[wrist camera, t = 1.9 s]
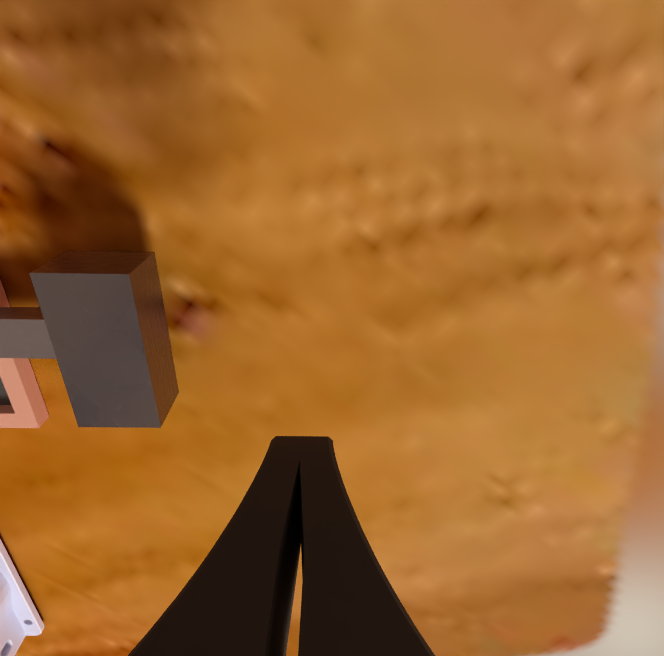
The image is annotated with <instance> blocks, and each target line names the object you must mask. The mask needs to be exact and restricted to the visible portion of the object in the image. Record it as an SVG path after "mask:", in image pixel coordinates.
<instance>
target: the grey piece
mask: <svg viewBox="0 0 664 656" xmlns="http://www.w3.org/2000/svg"><path fill="white" fill-rule="evenodd" d="M29 274H30V277H31V280H32V284H33V287H34V290H35V293H36V296H37V299H38V302H39V305H40V307H0V358H51V359H57V361H58V364H59V367H60V371H61V374H62V377H63V380H64V383H65V386H66V389H67V392H68V395H69V399H70V402H71V405H72V408H73V411H74V414H75V417H76V420H77V423H78V427H153V428H161V426H162V424H163V422H164V420H165V418H166V416H167V414H168V412H169V410H170V408H171V407H172V405H173V403H174V401H175V399H176V397H177V395H178V393H179V390H178V385H177V379H176V373H175V368H174V362H173V356H172V351H171V345H170V339H169V334H168V328H167V322H166V316H165V311H164V305H163V299H162V294H161V288H160V282H159V277H158V271H157V265H156V260H155V254H154V252H111V251H66V252H65V253H63V254H61V255H59V256H58V257H56V258H54V259H52V260H51V261H49V262H47V263H45V264H44V265H42V266H40V267H38V268H37V269H35V270H33V271H31V272H29Z"/></svg>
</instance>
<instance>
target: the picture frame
mask: <svg viewBox="0 0 664 656" xmlns="http://www.w3.org/2000/svg"><path fill="white" fill-rule="evenodd" d="M0 307H10V305H9V302H8V300H7V297H6V294H5V291H4V288H3V286H2V283H1V280H0ZM48 417H49V414H48V412H47V409H46V406H45V403H44V400H43V398H42V395H41V392H40V389H39V386H38V384H37V381H36V378H35V375H34V372H33V370H32V367H31V364H30V361H29V358H0V428H40V426H41V425H42V424H43V423H44V422H45V421H46V420H47V419H48Z"/></svg>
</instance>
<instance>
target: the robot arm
mask: <svg viewBox="0 0 664 656" xmlns="http://www.w3.org/2000/svg"><path fill="white" fill-rule="evenodd" d="M300 547H301V551H302V576H303V584H302V602H301V618H300V635H299V651H298V656H435V655H434V653H433V652H432V650H431V649H430V647H429V646H428V645H427V643H426V642H425V640H424V639H423V637H422V636H421V634H420V633H419V631H418V630H417V628H416V626H415V625H414V623H413V622H412V620H411V618H410V617H409V615H408V613H407V612H406V610H405V608H404V607H403V605H402V603H401V602H400V600H399V598H398V597H397V595H396V593H395V591H394V590H393V588H392V586H391V584H390V583H389V581H388V579H387V577H386V576H385V574H384V572H383V570H382V568H381V566H380V564H379V562H378V560H377V559H376V557H375V555H374V553H373V551H372V549H371V547H370V544H369V542H368V540H367V538H366V536H365V534H364V532H363V530H362V528H361V525H360V523H359V521H358V519H357V516H356V514H355V512H354V509H353V507H352V504H351V502H350V499H349V497H348V494H347V492H346V489H345V486H344V484H343V481H342V478H341V474H340V471H339V468H338V465H337V461H336V457H335V453H334V448H333V440H331V439H330V438H329V437H314V436H276V437H275V438H273V439H272V440H271V443H270V446H269V449H268V451H267V453H266V456H265V458H264V460H263V462H262V464H261V466H260V469H259V470H258V472H257V474H256V476H255V478H254V480H253V482H252V484H251V486H250V488H249V489H248V491H247V493H246V495H245V496H244V498H243V500H242V502H241V503H240V505H239V507H238V509H237V510H236V512H235V514H234V515H233V517H232V519H231V520H230V522H229V523H228V525H227V526H226V528H225V529H224V531H223V533H222V534H221V536H220V537H219V539H218V540H217V542H216V543H215V545H214V546H213V548H212V549H211V551H210V552H209V554H208V555H207V557H206V558H205V559H204V561H203V562H202V564H201V565H200V567H199V568H198V569H197V571H196V572H195V573H194V575H193V576H192V577H191V579H190V580H189V581H188V583H187V584H186V585H185V587H184V588H183V589H182V591H181V592H180V593H179V595H178V596H177V597H176V598H175V600H174V601H173V602H172V603H171V605H170V606H169V607H168V608H167V610H166V611H165V612H164V613H163V614H162V616H161V617H160V618H159V619H158V621H157V622H156V623H155V624H154V626H153V627H152V628H151V629H150V630H149V632H148V633H147V634H146V635H145V636H144V637H143V639H142V640H141V641H140V642H139V643H138V644H137V646H136V647H135V648H134V649H133V650H132V651H131V652H130V654H129V655H128V656H286V650H287V642H288V634H289V627H290V620H291V613H292V605H293V598H294V591H295V584H296V576H297V569H298V562H299V554H300ZM43 629H44V624H43V622H42V620H41V618H40V616H39V614H38V612H37V610H36V608H35V606H34V604H33V602H32V600H31V598H30V596H29V594H28V592H27V590H26V588H25V586H24V584H23V582H22V580H21V579H20V577H19V575H18V573H17V571H16V569H15V567H14V565H13V563H12V561H11V559H10V557H9V555H8V553H7V551H6V549H5V547H4V545H3V543H2V541H1V539H0V656H15V654H16V652H17V650H18V649H19V647H20V645H21V643H22V641H23V640H24V638H25V636H36V635H39V634H41V633H42V631H43Z"/></svg>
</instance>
